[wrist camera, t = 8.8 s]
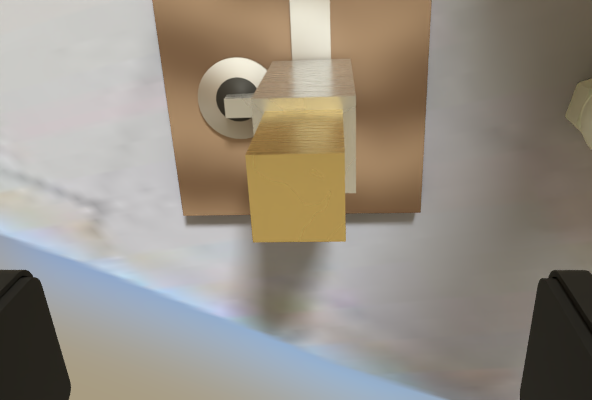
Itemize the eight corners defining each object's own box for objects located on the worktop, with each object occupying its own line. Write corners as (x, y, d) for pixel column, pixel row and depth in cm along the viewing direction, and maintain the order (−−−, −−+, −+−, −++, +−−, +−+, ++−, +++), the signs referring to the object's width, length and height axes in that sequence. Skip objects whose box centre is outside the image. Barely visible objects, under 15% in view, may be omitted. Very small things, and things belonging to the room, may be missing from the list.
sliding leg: (226, 62, 28) (149, 141, 17) (350, 58, 28) (361, 136, 16) (233, 136, 30) (168, 256, 18) (351, 133, 30) (361, 254, 18)
